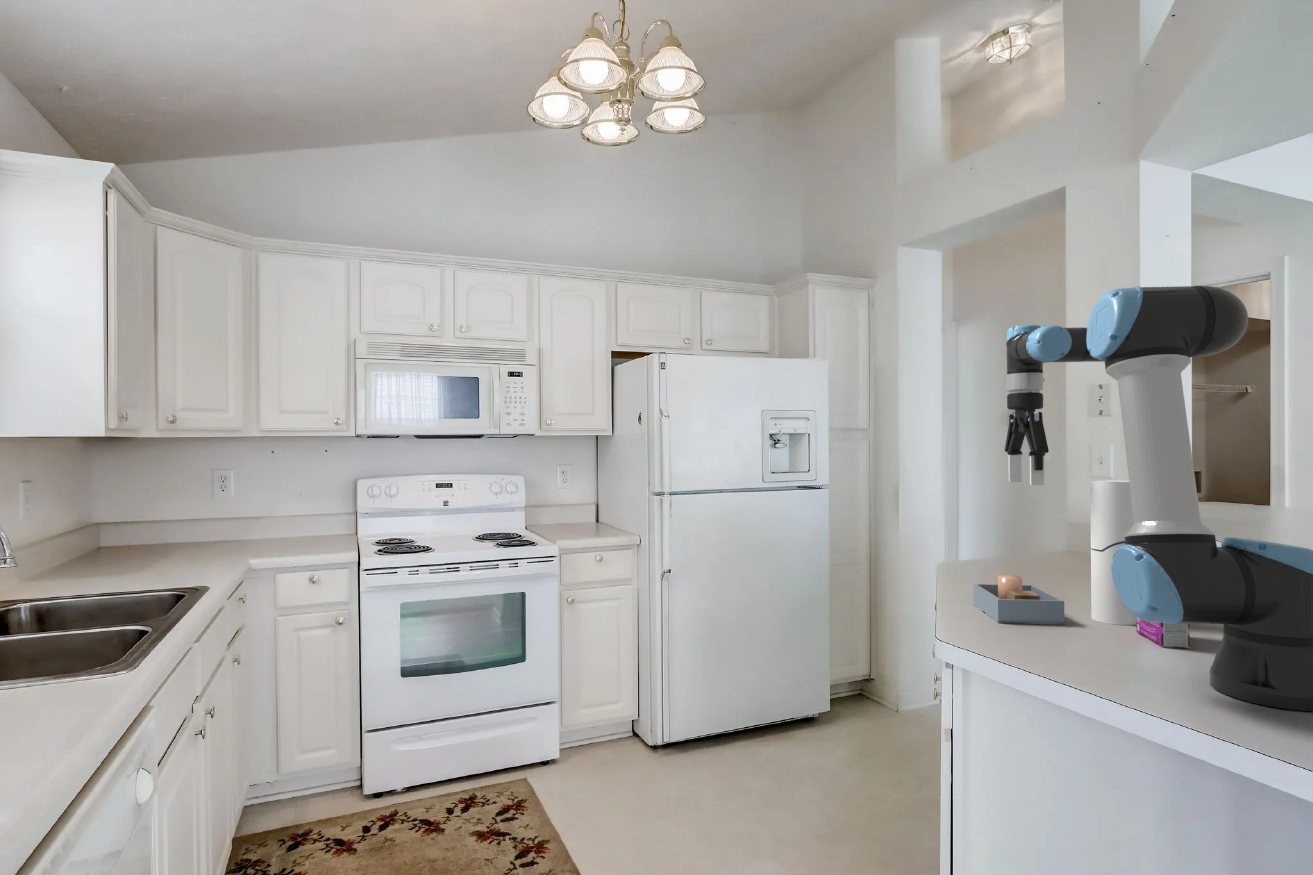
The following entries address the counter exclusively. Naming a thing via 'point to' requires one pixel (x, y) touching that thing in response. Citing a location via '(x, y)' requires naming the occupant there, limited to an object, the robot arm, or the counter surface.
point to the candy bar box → (1165, 633)
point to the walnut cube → (1022, 595)
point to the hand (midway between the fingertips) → (1025, 483)
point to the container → (1108, 547)
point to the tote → (1019, 606)
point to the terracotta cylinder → (1008, 584)
